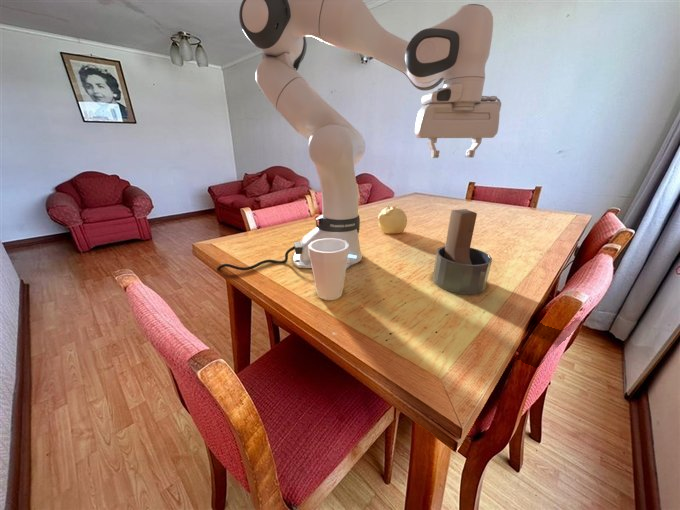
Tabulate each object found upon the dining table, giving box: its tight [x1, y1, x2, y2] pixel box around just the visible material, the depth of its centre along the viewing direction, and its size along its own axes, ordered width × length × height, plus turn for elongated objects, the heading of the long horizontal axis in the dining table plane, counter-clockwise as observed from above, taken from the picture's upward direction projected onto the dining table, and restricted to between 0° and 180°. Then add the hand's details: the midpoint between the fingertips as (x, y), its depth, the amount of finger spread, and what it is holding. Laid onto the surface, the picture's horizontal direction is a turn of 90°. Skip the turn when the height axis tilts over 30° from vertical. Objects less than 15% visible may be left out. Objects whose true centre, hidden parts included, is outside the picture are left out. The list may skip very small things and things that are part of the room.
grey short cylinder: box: [432, 244, 493, 296], centre depth 71 cm, size 17×13×8 cm
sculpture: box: [377, 205, 408, 234], centre depth 109 cm, size 12×12×11 cm
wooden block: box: [444, 208, 478, 265], centre depth 68 cm, size 9×4×18 cm, turn 13°
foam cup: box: [308, 238, 349, 301], centre depth 64 cm, size 10×9×13 cm
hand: (451, 157), depth 68 cm, fingers open, 8 cm apart
